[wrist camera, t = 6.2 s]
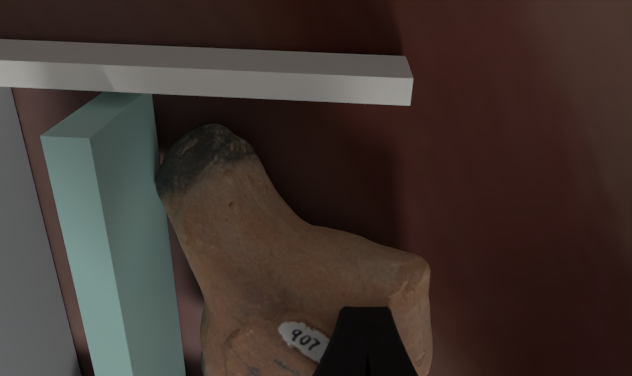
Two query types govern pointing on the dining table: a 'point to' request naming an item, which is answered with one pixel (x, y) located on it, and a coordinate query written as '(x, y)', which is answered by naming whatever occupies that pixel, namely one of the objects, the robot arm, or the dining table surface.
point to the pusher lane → (134, 77)
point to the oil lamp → (277, 265)
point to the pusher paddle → (117, 234)
